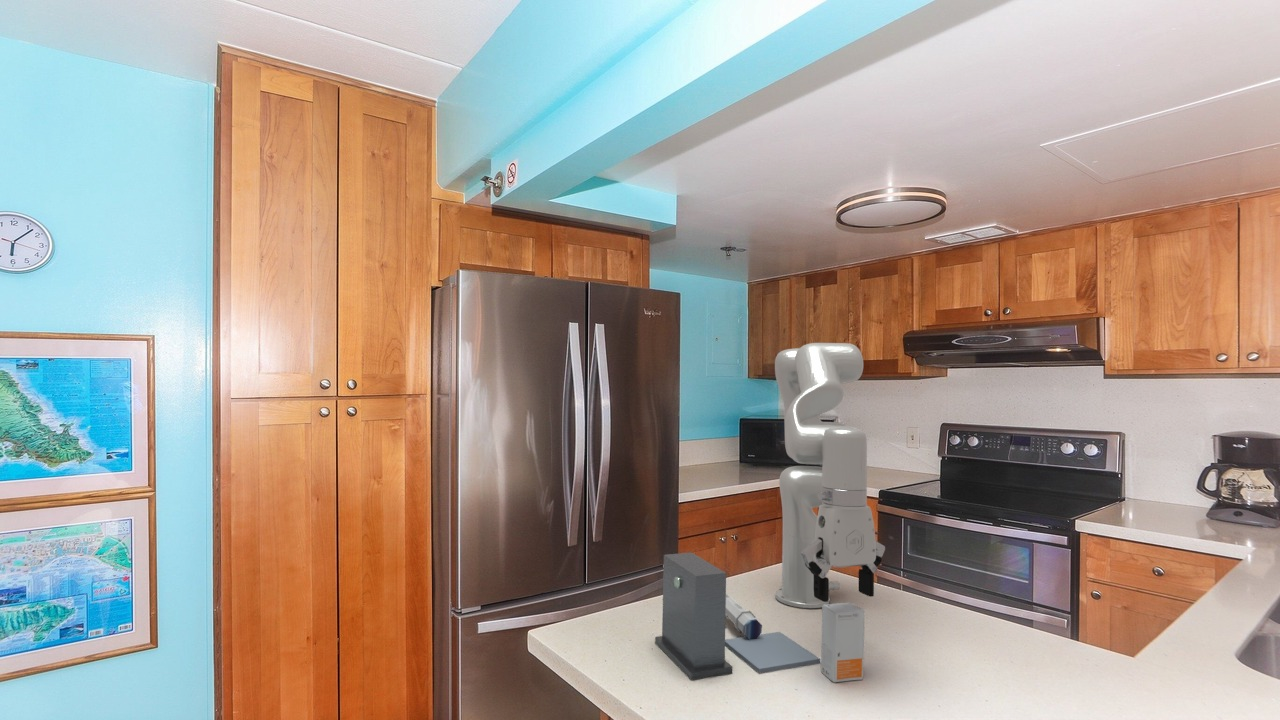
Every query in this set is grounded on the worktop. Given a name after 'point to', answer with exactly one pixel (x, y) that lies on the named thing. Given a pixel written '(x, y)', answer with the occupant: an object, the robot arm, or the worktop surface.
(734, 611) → the white elongated piece
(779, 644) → the slate mat
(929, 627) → the worktop surface
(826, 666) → the skincare box
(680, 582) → the mounted unit
